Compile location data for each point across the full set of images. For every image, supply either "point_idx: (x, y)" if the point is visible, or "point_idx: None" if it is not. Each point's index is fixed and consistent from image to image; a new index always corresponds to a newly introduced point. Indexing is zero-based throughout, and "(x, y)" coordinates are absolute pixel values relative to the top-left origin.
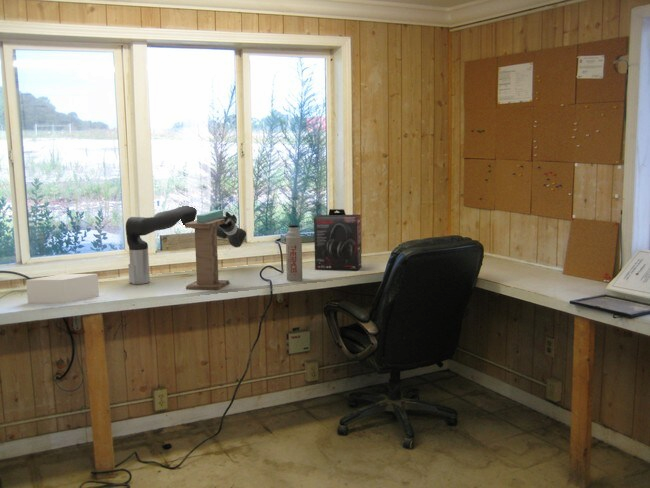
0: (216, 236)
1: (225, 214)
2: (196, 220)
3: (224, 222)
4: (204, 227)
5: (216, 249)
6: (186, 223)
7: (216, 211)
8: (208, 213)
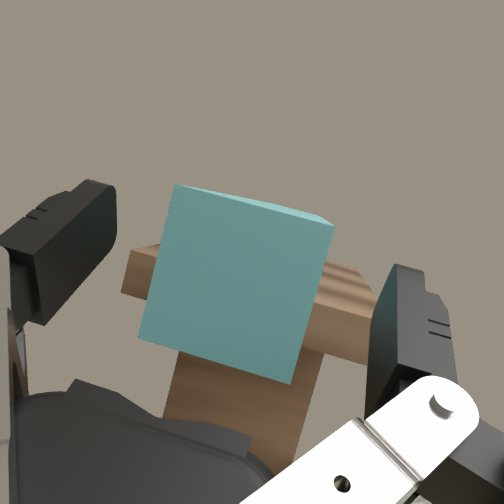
0: (174, 377)
1: (113, 231)
2: (369, 293)
3: (122, 286)
4: None
5: None
6: (349, 267)
7: (248, 199)
8: (277, 205)
